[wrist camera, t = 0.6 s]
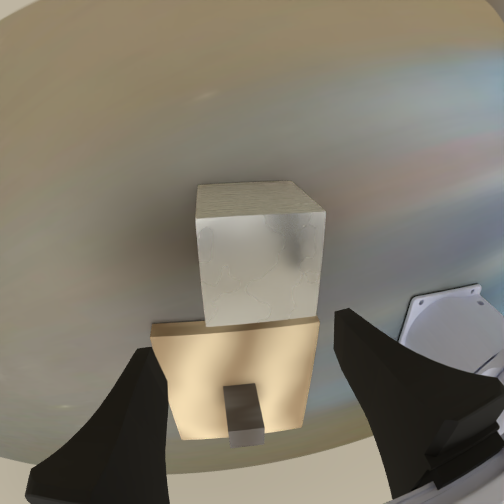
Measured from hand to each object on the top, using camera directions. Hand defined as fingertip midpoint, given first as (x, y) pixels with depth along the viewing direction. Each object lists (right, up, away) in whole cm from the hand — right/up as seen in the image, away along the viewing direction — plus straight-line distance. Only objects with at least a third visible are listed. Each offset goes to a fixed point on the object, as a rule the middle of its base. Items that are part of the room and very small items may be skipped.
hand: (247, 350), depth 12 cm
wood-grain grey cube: (0, +5, +8) cm, 10 cm away
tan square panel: (-1, -7, +14) cm, 16 cm away
